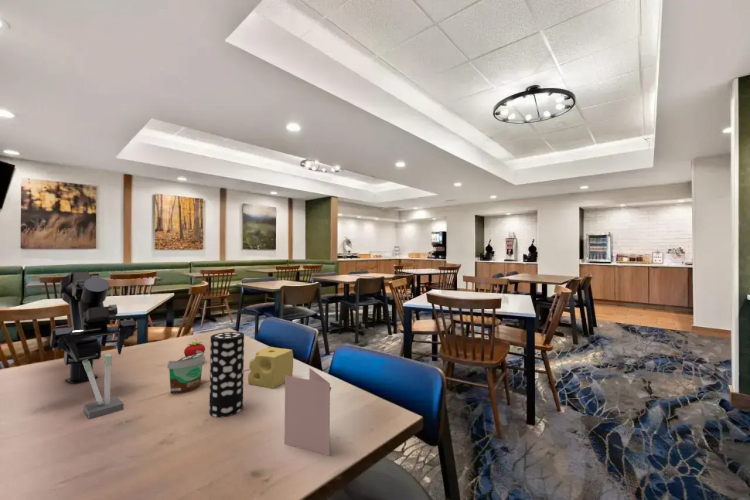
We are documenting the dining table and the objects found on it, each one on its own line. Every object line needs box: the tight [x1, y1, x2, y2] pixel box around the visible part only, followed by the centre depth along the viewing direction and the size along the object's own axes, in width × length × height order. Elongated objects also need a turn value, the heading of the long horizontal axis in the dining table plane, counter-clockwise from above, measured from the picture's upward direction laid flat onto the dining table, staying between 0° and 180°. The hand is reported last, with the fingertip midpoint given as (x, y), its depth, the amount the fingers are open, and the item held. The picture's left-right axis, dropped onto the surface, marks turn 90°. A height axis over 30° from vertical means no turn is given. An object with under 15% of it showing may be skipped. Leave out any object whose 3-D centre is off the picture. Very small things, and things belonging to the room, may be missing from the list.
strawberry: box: [183, 339, 206, 357], centre depth 125 cm, size 6×8×10 cm
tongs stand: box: [83, 353, 124, 420], centre depth 88 cm, size 7×7×14 cm
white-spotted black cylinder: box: [208, 331, 245, 418], centre depth 88 cm, size 8×8×20 cm
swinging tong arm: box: [82, 359, 103, 406], centre depth 86 cm, size 3×1×12 cm, turn 50°
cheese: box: [247, 346, 294, 389], centre depth 109 cm, size 10×11×10 cm
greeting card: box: [283, 367, 332, 457], centre depth 71 cm, size 11×7×15 cm, turn 33°
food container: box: [166, 351, 206, 395], centre depth 102 cm, size 12×6×10 cm, turn 168°
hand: (99, 357), depth 92 cm, fingers open, 9 cm apart
